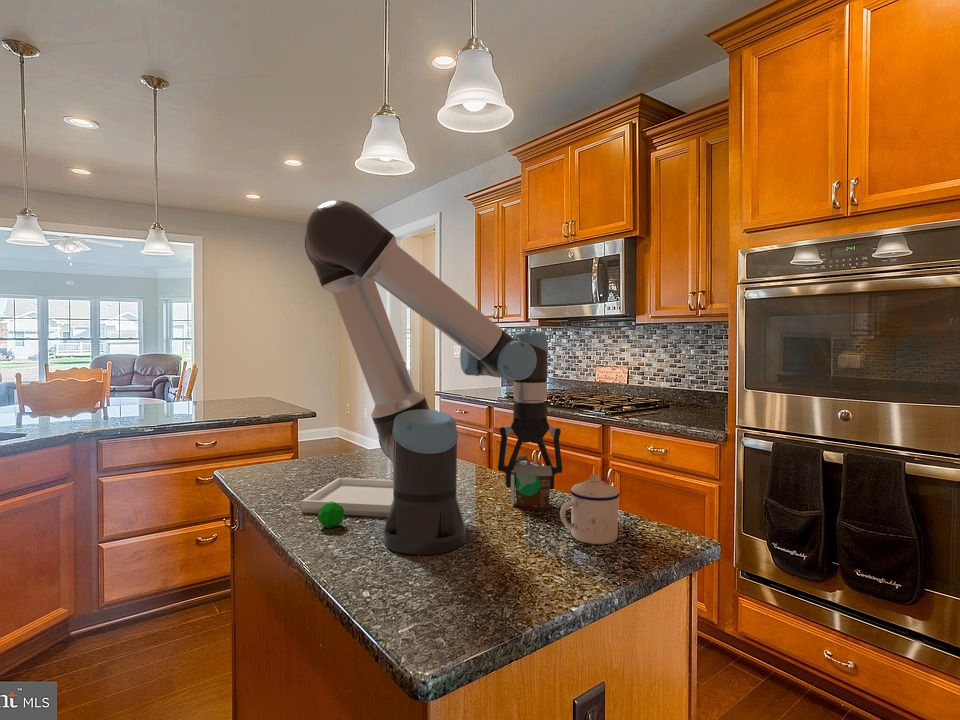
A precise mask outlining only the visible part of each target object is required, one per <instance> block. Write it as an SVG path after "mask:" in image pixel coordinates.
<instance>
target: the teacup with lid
mask: <svg viewBox="0 0 960 720" xmlns="http://www.w3.org/2000/svg"><path fill="white" fill-rule="evenodd" d="M570 494H571V500H570V501H569V500H568V501H566V502H565V503H563V504H562V506H561V507H560V511H559V517H560V521H561V522H562V524H563V525H564V526H565V527H567V528H569V529H570V533H571V534H570V535H571V536H572V537H573V538H574V539H575V540H577V541H579V542H581V543H585V544H590V545H606V544H612V543H615V541H616V540H617V539H618V536H619V535H618V533H619V532H618V529H619V528H618V527H619V497H620V491H619V489H618V488H617V487H616V486H613V485H611V484H608V483H607V482H606V481H603V480H601V476H600V475H599V474H591V475H590V476H589V479H586V480H584V481H583V482H580V483H576V484H573V486H572V487H571V489H570ZM570 507H571V508H570ZM569 508H570V509H571V510H570V511H571V512H570V513H571V514H570V515H571V516H570V517H571V520H570V522H571V523H569V522H568V519H567V517H566V513H567V511H568V509H569Z"/></svg>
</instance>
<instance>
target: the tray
mask: <svg viewBox="0 0 960 720" xmlns="http://www.w3.org/2000/svg"><path fill="white" fill-rule="evenodd" d="M328 502H335V503H337V504H338V505H340V506H342V507H343V510H344V516H356V517H357V516H358V517H359V516H360V517H361V516H362V517H377V518H378V517H379V518H380V517H381V518H388V515H389V512H390V508H391V505H392V502H393V479H373V478H372V479H369V478H351V477H350V478H349V477H337V478H335V479H334V480H332V481H331V482H329V483H328V484H326V485H325V486H323V487H322V488H320V489H319V490H317V491H315V492H313V493H312V494H310V495H308V496H307V497H305V498H303V499H302V500H301V513H305V514H319V510H320V508H321V507H322V506H324V505H325V504H326V503H328Z"/></svg>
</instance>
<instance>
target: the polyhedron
mask: <svg viewBox="0 0 960 720" xmlns="http://www.w3.org/2000/svg"><path fill="white" fill-rule="evenodd" d="M344 517H345V515H344V510H343V507H342V506H340V505H338V504H337V503H335V502H328V503H326V504H325V505H324V506H322V507H321V508H320V510H319V513H317V519H318V522H319V524H321V525H323V526H324V527H325V528H328V529H333V528H334V527H335V528H336V527H338V526H339V525H340V524H341V523H342V522H343V520H344Z"/></svg>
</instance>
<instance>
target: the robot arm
mask: <svg viewBox="0 0 960 720" xmlns="http://www.w3.org/2000/svg"><path fill="white" fill-rule="evenodd" d="M305 229H306V230H305V232H306V233H305V235H304V249H305V253H306V256H307V258H308V260H309V261H310V263H311V264H312V266H313V267H314V270H315V273H316V275H317V278H318V280H319V283H320V285H321V289H323V290H325V291H327V292H329V293H330V294H332V295H333V299H334V300H335V303H336V306H337V308H338V311H339V314H340V316H341V319H342V321H343V324H344V327H345V330H346V331H347V334H348V337H349V340H350V342H351V345H352V347H353V348H352V349H354V352H355V355H356V358H357V360H358V364H359V367H360V368H361V372H362V374H363V376H364V379H365V382H366V384H367V387H368V390H369V392H370V395H371V397H372V401H373V403H374V407H373V410H372V412H371V413H370V414H371V419H372V421H373V424H374V426H375V429H376V431H377V434H378V443H379V446H380V449H381V450H382V452H383V453H384V455H385V457H387V458H388V459H389V460H390V461H391V463H392V465H393V467H392V468H393V469H392V471H393V474H392V475H393V477H392V478H393V479H392V480H393V502H392V505H391V508H390V512H389V515H388V517H386V518H387V519H386V520H385V524H384V527H383V544H384V546H385V547H386V548H387V549H390V550H391V551H393V552H397V553H401V554H405V555H411V556H428V555H429V556H431V555H438V554H439V555H440V554H443V553H448V552H451V551H454V550H456V549H458V548H460V547H461V546H463V544H465V542H466V540H467V539H466V538H467V537H466V536H467V531H466V530H467V528H466V523H465V521H464V517H463V514H462V511H461V508H460V505H459V502H458V499H457V482H458V481H457V472H458V471H457V470H458V465H457V462H458V459H457V458H458V438H459V436H458V434H459V432H458V430H457V422H456V419H455V417H453V416H452V415H451V414H450V413H447V412H445V411H439V410H436V409H435V410H434V409H430V407H429V403H428V401H427V398H426V396H425V394H423V393H420V392H419V391H417V390H415V388H414V385H413V382H412V379H411V376H410V374H409V371H408V369H407V366H406V363H405V361H404V358H403V355H402V354H403V353H402V351H401V349H400V347H399V344H398V341H397V338H396V336H395V333H394V330H393V328H392V326H391V325H392V324H391V322H390V319H389V317H388V314H387V311H386V309H385V306H384V303H383V301H382V298H381V295H380V293H379V289H378V287H377V284H378V285H379V286H380V287H382V288H383V289H385V290H386V291H387V292H388V293H389V294H391V295H393V296H394V297H395V298H396V299H398V300H399V301H400V302H402V303H403V304H404V305H406V306H407V307H408V308H410V309H411V310H412V311H414V313H416V314H417V315H419V316H420V317H421V318H423V319H424V320H425V321H427V322H429V324H431V325H432V326H433V327H434V328H436V329H438V330H439V331H440V332H441V333H443V334H444V335H445V336H447V337H448V338H449V339H450V340H452V341H453V342H454V343H456V344H457V345H458V346H459V347H461V348H460V357H459V360H460V361H459V362H460V367H461V370H462V372H463V374H464V375H466V376H473V377H474V376H475V377H479V376H481V377H482V376H487V377H488V376H489V377H494V378H499V379H504V380H506V381H510V382H513V386H512V387H513V389H512V390H513V395H512V397H513V399H514V400H515V401H514V402H513V407H512V408H513V409H512V410H513V413H512V416H513V419H512V422H511V424H510V425H501V426H500V428H499V433H500V440H501V441H500V447H499V455H498V464H497V470H498V471H499V472H503V473H504V474H505V486H506V488H510V505H511V504H515V502H516V489H515V473H514V471H512V468H513V466H514V463H515V461H516V458H517V457H518V456H519V452H520V450H521V447H522V445H523V443H524V444H527V443H532V444H537V446H538V448H539V451H540V454H541V456H542V459H543V461H544V464H545V465H544V466H551V469H552V476H551V478H550V490H554V489H555V476H556V474H561V473H563V464H562V454H561V453H562V452H561V446H560V436H561V432H562V429H561V426H552V425H550V424H549V422H548V403H547V402H546V400H547V399H548V353H549V350H548V349H549V348H548V337H547V334H546V333H544V332H543V331H515V332H514V333H513V336H511V335H510V334H509V333H507V332H506V331H505V330H503V328H501V326H498V325H497V324H496V323H495V322H493V321H492V320H491V319H490V318H488V317H487V315H485V314H484V313H483V312H481V311H480V310H479V309H477V307H475V306H474V305H472V304H471V303H470V302H468V300H466V299H465V298H464V297H462V296H461V294H459V293H458V292H456V291H455V290H454V289H452V288H451V287H450V286H449V285H447V284H446V283H445V282H444V281H442V280H441V279H440V278H439V277H438V276H437V275H436V274H434V273H433V272H431V271H430V270H429V269H427V267H425V265H422V264H421V263H420V262H419V261H417V259H415V258H414V257H413V256H412V255H410V254H409V253H408V252H407V251H406V250H404V249H402V248H401V247H400V246H399V244H397V239H396V238H397V237H396V235H395V234H393V233H391V231H390V230H388V229H387V228H386V227H384V226H383V225H382V224H381V223H380V222H378V221H377V220H376V219H375V218H374V217H373V216H371V215H370V214H369V213H368V212H366V211H365V210H364V209H362V208H361V207H359V206H358V205H356V204H354V203H353V202H349V201H347V200H337V199H336V200H330V201H327V202H323V203H322V204H320V205H318V206H317V207H316V208H315V209H314V210H313V211H312V212H311V214H310V216H309V217H308V220H307V224H306V228H305ZM376 283H377V284H376ZM511 431H512V432H513V433H514V435H515V436H516V437H517V441H516V443H515V445H514V449H513V451H512V453H511V457H510V459H509V462H508V464H507V465H506V464H505V462H506V453H507V446H508V445H507V444H508V436H510V434H511ZM548 432H550V436H551V437H552V438H553V447H554V455H555V458H554V459H555V464H556V466H554V465H553V463H552V460H551V457H550V455H549V452H548V449H547V447H546V444H545V440H544V437H545V436H546V434H547V433H548Z"/></svg>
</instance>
